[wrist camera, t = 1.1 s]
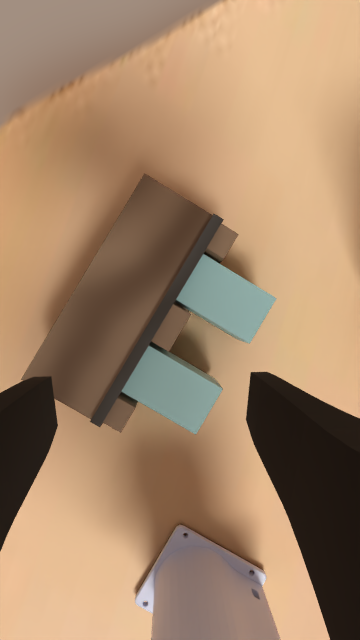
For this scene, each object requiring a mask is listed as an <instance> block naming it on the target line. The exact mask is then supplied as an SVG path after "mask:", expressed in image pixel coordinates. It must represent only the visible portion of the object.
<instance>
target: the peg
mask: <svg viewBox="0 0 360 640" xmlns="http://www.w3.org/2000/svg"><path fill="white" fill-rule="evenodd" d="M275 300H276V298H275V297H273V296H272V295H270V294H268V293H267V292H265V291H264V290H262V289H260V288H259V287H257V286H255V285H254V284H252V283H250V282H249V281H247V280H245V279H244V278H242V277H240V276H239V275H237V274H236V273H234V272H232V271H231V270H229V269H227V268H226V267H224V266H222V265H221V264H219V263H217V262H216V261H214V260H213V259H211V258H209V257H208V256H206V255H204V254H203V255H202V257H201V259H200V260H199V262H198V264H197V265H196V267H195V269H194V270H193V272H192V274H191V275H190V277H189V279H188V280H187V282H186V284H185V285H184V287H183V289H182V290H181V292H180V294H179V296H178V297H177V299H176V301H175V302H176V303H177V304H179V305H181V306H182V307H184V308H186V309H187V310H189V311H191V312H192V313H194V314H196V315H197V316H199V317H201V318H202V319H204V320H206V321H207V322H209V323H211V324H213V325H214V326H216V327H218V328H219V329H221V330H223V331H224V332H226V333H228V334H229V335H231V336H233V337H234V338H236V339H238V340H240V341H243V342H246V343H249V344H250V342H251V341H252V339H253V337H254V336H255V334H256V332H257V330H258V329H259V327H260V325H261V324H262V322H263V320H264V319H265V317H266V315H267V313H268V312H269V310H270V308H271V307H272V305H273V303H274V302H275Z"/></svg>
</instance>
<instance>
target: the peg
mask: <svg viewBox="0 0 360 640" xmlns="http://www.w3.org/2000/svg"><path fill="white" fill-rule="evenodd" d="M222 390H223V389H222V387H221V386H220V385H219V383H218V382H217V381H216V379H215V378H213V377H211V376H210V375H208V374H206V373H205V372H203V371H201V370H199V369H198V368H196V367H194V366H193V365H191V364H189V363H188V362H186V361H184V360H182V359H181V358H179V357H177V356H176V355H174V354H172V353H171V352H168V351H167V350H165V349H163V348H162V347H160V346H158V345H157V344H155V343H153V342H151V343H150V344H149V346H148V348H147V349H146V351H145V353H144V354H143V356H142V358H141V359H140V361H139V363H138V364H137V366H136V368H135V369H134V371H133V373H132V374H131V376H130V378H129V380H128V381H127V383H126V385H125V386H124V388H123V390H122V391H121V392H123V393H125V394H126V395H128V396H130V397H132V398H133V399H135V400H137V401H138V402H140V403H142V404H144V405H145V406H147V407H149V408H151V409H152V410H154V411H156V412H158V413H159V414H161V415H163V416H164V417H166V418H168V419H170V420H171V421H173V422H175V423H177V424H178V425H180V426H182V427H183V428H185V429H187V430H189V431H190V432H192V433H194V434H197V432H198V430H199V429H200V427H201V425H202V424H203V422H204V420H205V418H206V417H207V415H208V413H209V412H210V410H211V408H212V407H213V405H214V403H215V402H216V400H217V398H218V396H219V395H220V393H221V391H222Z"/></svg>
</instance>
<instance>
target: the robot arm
mask: <svg viewBox="0 0 360 640" xmlns="http://www.w3.org/2000/svg"><path fill="white" fill-rule="evenodd" d="M246 421H247V424H248V427H249V430H250V434H251V437H252V440H253V443H254V445H255V447H256V450H257V452H258V454H259V456H260V458H261V460H262V462H263V464H264V466H265V469H266V471H267V473H268V475H269V477H270V479H271V481H272V483H273V485H274V487H275V489H276V491H277V493H278V496H279V498H280V500H281V502H282V504H283V506H284V509H285V511H286V513H287V516H288V518H289V521H290V523H291V526H292V529H293V531H294V534H295V537H296V540H297V542H298V545H299V548H300V550H301V553H302V556H303V559H304V562H305V565H306V568H307V570H308V573H309V576H310V579H311V582H312V585H313V588H314V591H315V594H316V597H317V600H318V603H319V606H320V609H321V612H322V615H323V618H324V621H325V625H326V628H327V631H328V634H329V637H330V640H360V419H359V418H357V417H355V416H352V415H350V414H348V413H346V412H344V411H341V410H339V409H337V408H335V407H333V406H331V405H329V404H327V403H325V402H323V401H321V400H319V399H317V398H315V397H314V396H312V395H310V394H308V393H306V392H304V391H302V390H301V389H299V388H297V387H295V386H293V385H292V384H290V383H288V382H286V381H284V380H283V379H281V378H279V377H277V376H275V375H273V374H271V373H268V372H251V376H250V386H249V396H248V406H247V416H246ZM57 426H58V424H57V416H56V409H55V401H54V393H53V385H52V377H51V376H43V377H31V378H29V379H27V380H24V381H22V382H20V383H18V384H16V385H14V386H12V387H11V388H9V389H7V390H5V391H3V392H1V393H0V551H1V549H2V546H3V544H4V541H5V539H6V536H7V534H8V532H9V530H10V527H11V525H12V523H13V521H14V519H15V517H16V515H17V513H18V511H19V509H20V507H21V505H22V503H23V501H24V499H25V497H26V495H27V494H28V492H29V490H30V488H31V486H32V484H33V482H34V480H35V478H36V476H37V474H38V472H39V470H40V468H41V466H42V464H43V462H44V460H45V458H46V456H47V454H48V452H49V449H50V447H51V444H52V441H53V438H54V435H55V432H56V429H57ZM184 533H187V535H183V534H184ZM250 570H253V571H252V572H249V571H250ZM265 580H266V574H265V572H264V571H263V570H262V569H260V568H258V567H256V566H255V565H253V564H251V563H249V562H247V561H246V560H244V559H242V558H240V557H239V556H237V555H235V554H233V553H231V552H230V551H228V550H226V549H224V548H223V547H221V546H219V545H217V544H215V543H214V542H212V541H210V540H208V539H207V538H205V537H203V536H201V535H199V534H198V533H196V532H194V531H192V530H191V529H189V528H187V527H185V526H183V525H178V526H177V527H176V528H175V530H174V531H173V533H172V535H171V536H170V538H169V540H168V542H167V543H166V545H165V547H164V548H163V550H162V552H161V553H160V555H159V557H158V559H157V560H156V562H155V564H154V565H153V567H152V569H151V570H150V572H149V574H148V576H147V577H146V579H145V581H144V582H143V584H142V586H141V587H140V589H139V591H138V593H137V594H136V597H135V603H136V604H137V605H138V606H140V607H142V608H143V609H145V610H147V611H149V612H151V613H153V618H152V636H151V640H281V639H280V636H279V634H278V631H277V628H276V625H275V622H274V619H273V616H272V613H271V610H270V608H269V605H268V602H267V599H266V596H265V593H264V590H263V587H262V586H263V584H264V582H265ZM144 601H147V602H144Z"/></svg>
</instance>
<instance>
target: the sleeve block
mask: <svg viewBox="0 0 360 640" xmlns="http://www.w3.org/2000/svg"><path fill="white" fill-rule="evenodd" d="M223 220H224V219H222V218H220V217H219V216H217V215H215V214H213V215H211V214H210V213H208V212H206V211H205V210H203V209H202V208H200V207H198V206H197V205H195V204H193V203H192V202H190V201H189V200H187V199H185V198H184V197H182V196H180V195H179V194H177V193H176V192H174V191H172V190H171V189H169V188H167V187H166V186H164V185H163V184H161V183H159V182H158V181H156V180H154V179H153V178H151V177H150V176H148V175H146V174H144V175H143V177H142V179H141V180H140V182H139V184H138V185H137V187H136V189H135V190H134V192H133V194H132V195H131V197H130V199H129V200H128V202H127V204H126V205H125V207H124V209H123V210H122V212H121V214H120V215H119V217H118V219H117V220H116V222H115V224H114V225H113V227H112V229H111V230H110V232H109V234H108V235H107V237H106V239H105V240H104V242H103V244H102V245H101V247H100V249H99V250H98V252H97V254H96V255H95V257H94V259H93V260H92V262H91V264H90V265H89V267H88V269H87V270H86V272H85V274H84V275H83V277H82V279H81V280H80V282H79V284H78V285H77V287H76V289H75V290H74V292H73V294H72V295H71V297H70V299H69V300H68V302H67V304H66V305H65V307H64V309H63V310H62V312H61V314H60V315H59V317H58V319H57V320H56V322H55V324H54V325H53V327H52V329H51V330H50V332H49V334H48V335H47V337H46V339H45V340H44V342H43V344H42V345H41V347H40V349H39V350H38V352H37V354H36V355H35V357H34V359H33V360H32V362H31V364H30V365H29V367H28V369H27V370H26V372H25V374H24V375H23V377H22V379H21V380H23V381H24V380H27V379H29V378H31V377H43V376H51V377H52V385H53V393H54V398H55V399H56V400H58V401H60V402H62V403H63V404H65V405H67V406H69V407H70V408H72V409H74V410H76V411H77V412H79V413H81V414H83V415H84V416H86V417H88V418H90V419H91V421H90V422H92V423H93V424H95V425H97V426H99V427H100V426H101V425H102V423H105V424H106V425H108V426H110V427H112V428H113V429H115V430H117V431H119V432H120V433H121V431H122V430H123V428H124V426H125V425H126V423H127V421H128V419H129V418H130V416H131V414H132V413H133V411H134V409H135V408H136V405H137V402H138V401H137V400H135V399H133V398H132V397H130V396H128V395H126V394H125V393H123V392H121V391H122V390H123V388H124V386H125V385H126V383H127V381H128V380H129V378H130V376H131V374H132V373H133V371H134V369H135V368H136V366H137V364H138V363H139V361H140V359H141V358H142V356H143V354H144V353H145V351H146V349H147V348H148V346H149V344H150V343H151V342H153V343H155V344H157V345H158V346H160V347H162V348H163V349H165V350H167V351H168V352H169V350H170V349H171V347H172V345H173V344H174V342H175V340H176V339H177V337H178V335H179V334H180V332H181V330H182V329H183V327H184V325H185V324H186V322H187V320H188V319H189V317H190V315H191V314H189V310H187V309H186V308H184V307H182V306H181V305H179V304H177V303H176V302H175V301H176V299H177V297H178V296H179V294H180V292H181V290H182V289H183V287H184V285H185V284H186V282H187V280H188V279H189V277H190V275H191V274H192V272H193V270H194V269H195V267H196V265H197V264H198V262H199V260H200V259H201V257H202V255H203V254H204V255H206V256H208V257H209V258H211V259H213V260H214V261H216V262H217V263H220V262H221V261H222V260H223V259H224V258H225V256H226V255H227V253H228V251H229V249H230V248H231V246H232V244H233V243H234V241H235V239H236V238H237V236H238V234H237V233H236V232H234V231H232V230H231V229H229V228H227V227H226V226H224V225H223V224H221V223H222V221H223Z"/></svg>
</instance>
